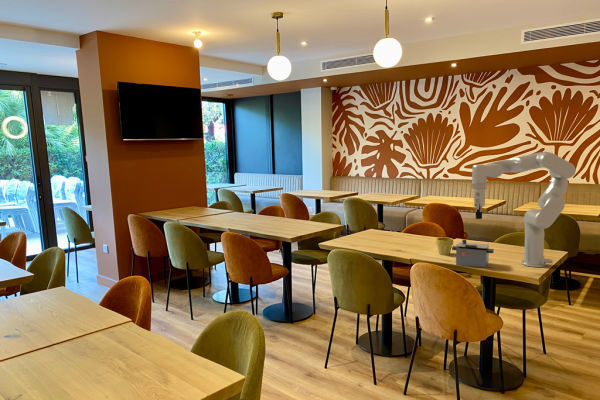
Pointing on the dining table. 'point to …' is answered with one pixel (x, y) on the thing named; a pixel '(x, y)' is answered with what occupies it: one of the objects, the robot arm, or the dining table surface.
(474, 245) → the lid
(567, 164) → the robot arm
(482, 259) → the cooker
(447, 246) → the plant pot
